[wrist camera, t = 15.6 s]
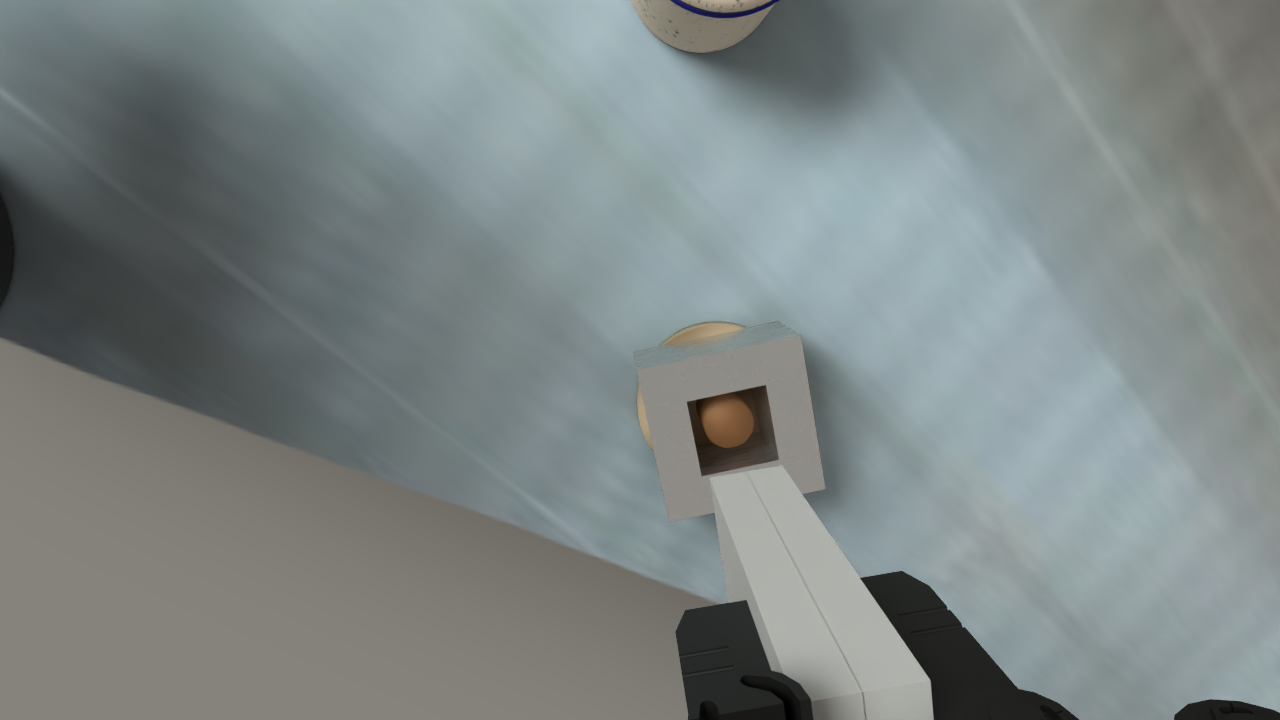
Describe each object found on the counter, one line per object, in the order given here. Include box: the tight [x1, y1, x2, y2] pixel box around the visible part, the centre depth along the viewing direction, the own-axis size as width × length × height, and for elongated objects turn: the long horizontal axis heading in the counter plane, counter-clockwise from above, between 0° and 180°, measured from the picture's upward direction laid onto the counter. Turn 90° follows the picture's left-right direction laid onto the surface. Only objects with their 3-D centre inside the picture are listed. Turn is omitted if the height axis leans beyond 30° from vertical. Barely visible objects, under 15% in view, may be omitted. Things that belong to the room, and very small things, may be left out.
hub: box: [637, 321, 760, 451], centre depth 41 cm, size 10×10×6 cm
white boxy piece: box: [633, 321, 826, 522], centre depth 40 cm, size 9×9×5 cm
